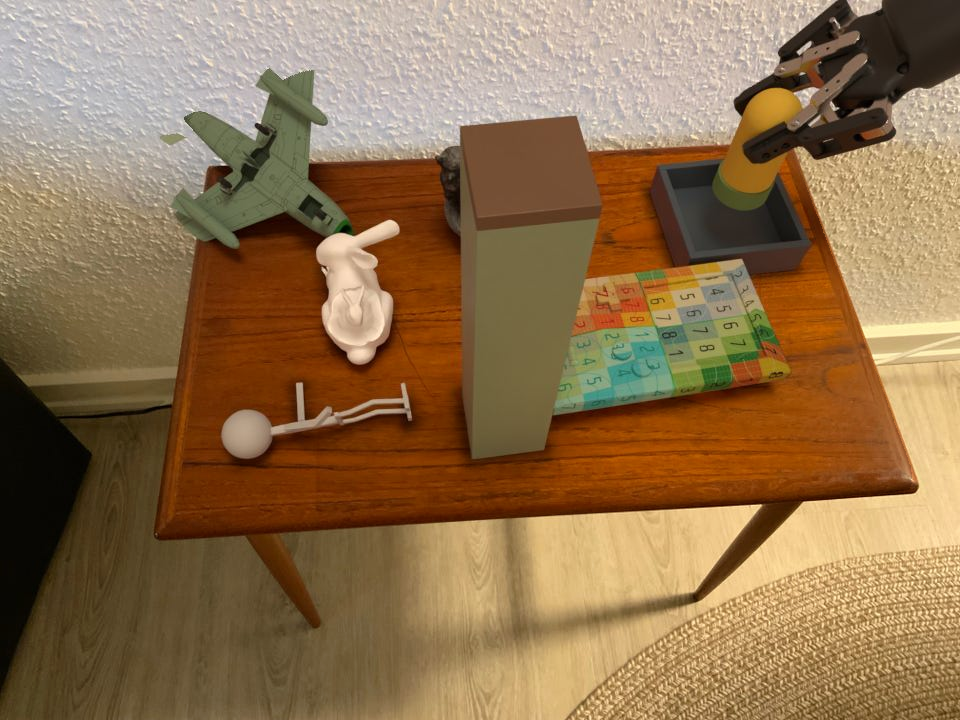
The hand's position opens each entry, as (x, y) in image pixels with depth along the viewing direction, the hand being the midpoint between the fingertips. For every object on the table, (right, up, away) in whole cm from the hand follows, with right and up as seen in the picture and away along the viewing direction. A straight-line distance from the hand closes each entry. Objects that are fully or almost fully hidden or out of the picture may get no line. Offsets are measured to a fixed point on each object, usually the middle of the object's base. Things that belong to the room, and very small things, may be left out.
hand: (743, 132), depth 61 cm
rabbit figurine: (-32, -15, +5) cm, 36 cm away
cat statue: (-20, -7, +11) cm, 24 cm away
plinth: (-20, -24, 0) cm, 31 cm away
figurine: (-28, -21, -2) cm, 35 cm away
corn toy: (+2, -3, +6) cm, 7 cm away
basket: (+2, -6, +11) cm, 13 cm away
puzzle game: (-7, -18, +4) cm, 20 cm away
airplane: (-46, +3, +7) cm, 47 cm away
